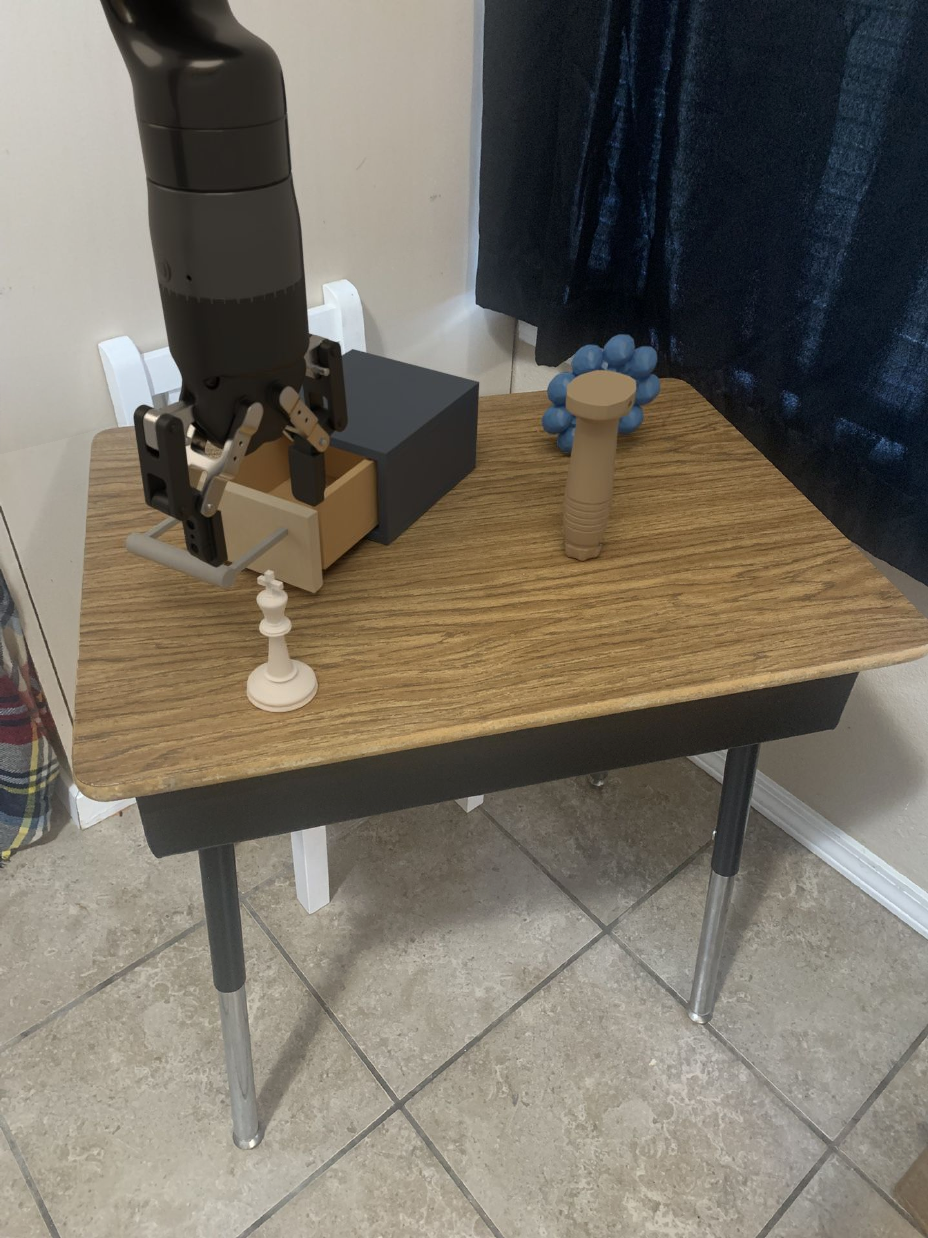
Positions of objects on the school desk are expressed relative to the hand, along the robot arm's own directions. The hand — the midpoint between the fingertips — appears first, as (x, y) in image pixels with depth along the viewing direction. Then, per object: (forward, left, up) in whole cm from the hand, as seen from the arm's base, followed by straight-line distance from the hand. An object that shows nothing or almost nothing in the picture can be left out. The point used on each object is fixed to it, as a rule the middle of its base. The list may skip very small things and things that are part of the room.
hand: (262, 529), depth 61 cm
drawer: (+4, +15, -12) cm, 20 cm away
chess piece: (0, 0, -13) cm, 13 cm away
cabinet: (+15, +24, -13) cm, 31 cm away
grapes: (+38, +23, -13) cm, 47 cm away
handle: (+28, +7, -13) cm, 32 cm away
